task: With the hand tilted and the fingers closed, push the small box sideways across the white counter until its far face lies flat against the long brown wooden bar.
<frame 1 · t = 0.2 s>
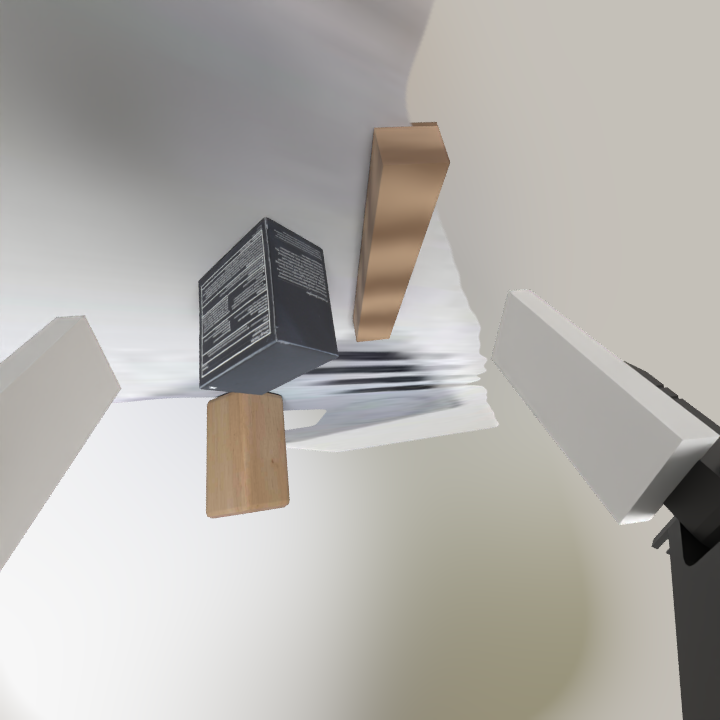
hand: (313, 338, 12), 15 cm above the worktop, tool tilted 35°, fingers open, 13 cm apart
long brown wooden bar: (380, 251, 33), on the worktop
small box: (260, 264, 32), on the worktop
wooden block: (245, 396, 66), on the worktop
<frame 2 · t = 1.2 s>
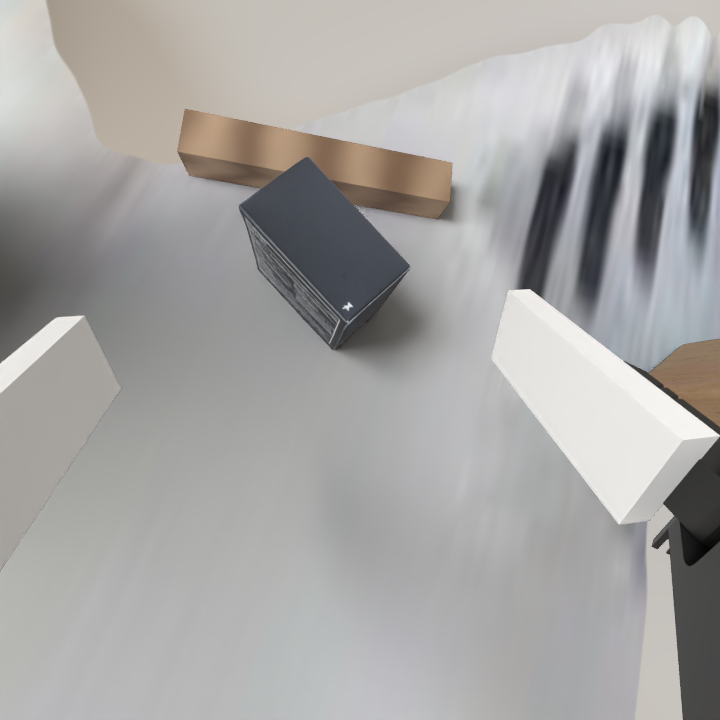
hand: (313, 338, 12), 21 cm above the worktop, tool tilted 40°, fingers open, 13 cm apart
long brown wooden bar: (321, 181, 35), on the worktop
small box: (320, 289, 33), on the worktop
wooden block: (674, 404, 38), on the worktop
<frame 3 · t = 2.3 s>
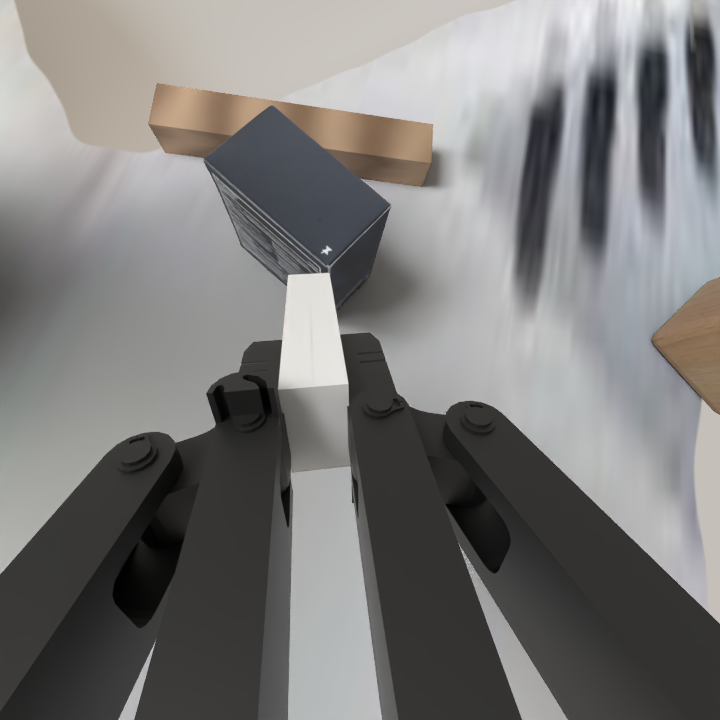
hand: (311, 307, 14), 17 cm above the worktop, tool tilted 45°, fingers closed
long brown wooden bar: (299, 154, 34), on the worktop
small box: (307, 260, 32), on the worktop
wooden block: (707, 348, 35), on the worktop
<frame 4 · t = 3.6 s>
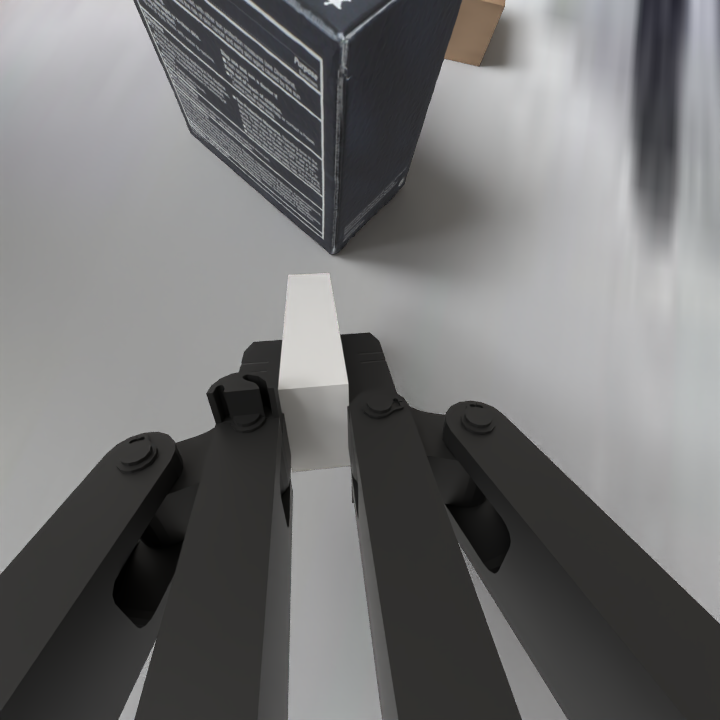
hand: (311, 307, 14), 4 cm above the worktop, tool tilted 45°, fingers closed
long brown wooden bar: (289, 2, 21), on the worktop
small box: (301, 160, 19), on the worktop
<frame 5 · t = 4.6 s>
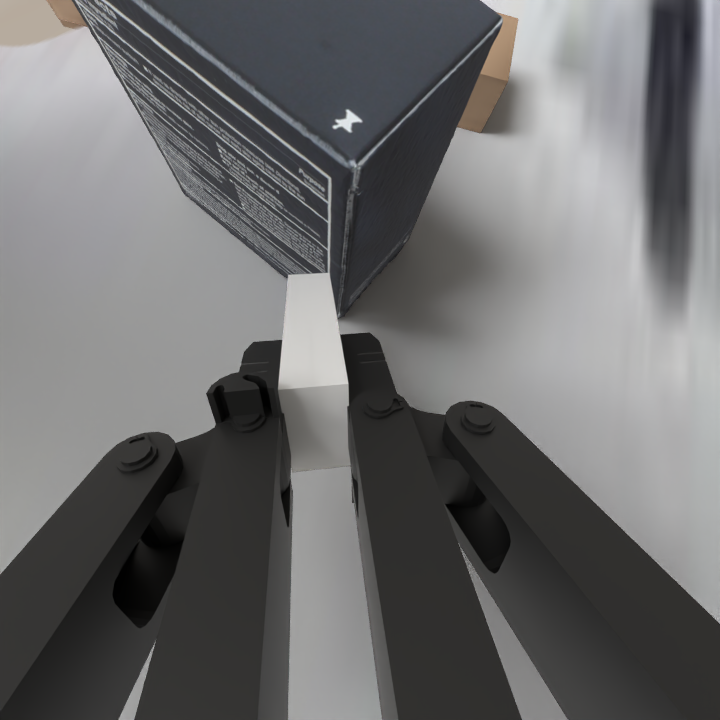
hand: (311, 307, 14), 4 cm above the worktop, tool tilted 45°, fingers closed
long brown wooden bar: (286, 56, 21), on the worktop
small box: (300, 217, 19), on the worktop, touching gripper
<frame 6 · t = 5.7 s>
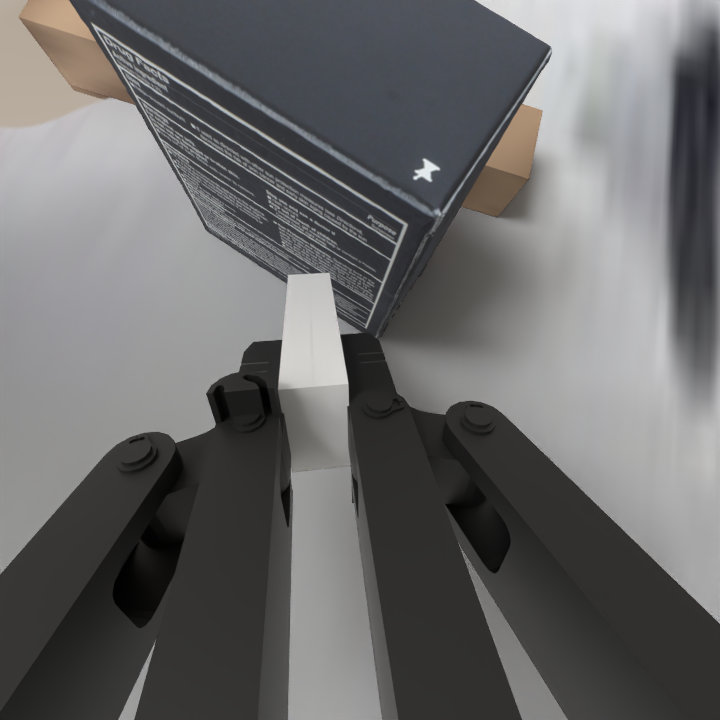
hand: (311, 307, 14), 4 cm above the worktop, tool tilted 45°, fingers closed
long brown wooden bar: (299, 128, 20), on the worktop
small box: (324, 240, 19), on the worktop
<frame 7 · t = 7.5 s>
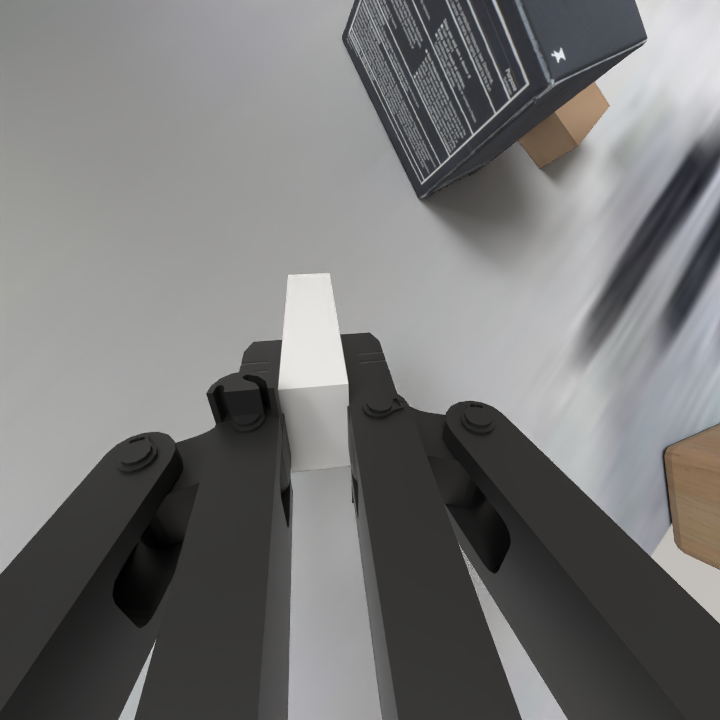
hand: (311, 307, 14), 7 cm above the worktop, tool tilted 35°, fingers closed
long brown wooden bar: (444, 8, 23), on the worktop
small box: (419, 107, 23), on the worktop
wooden block: (697, 479, 33), on the worktop
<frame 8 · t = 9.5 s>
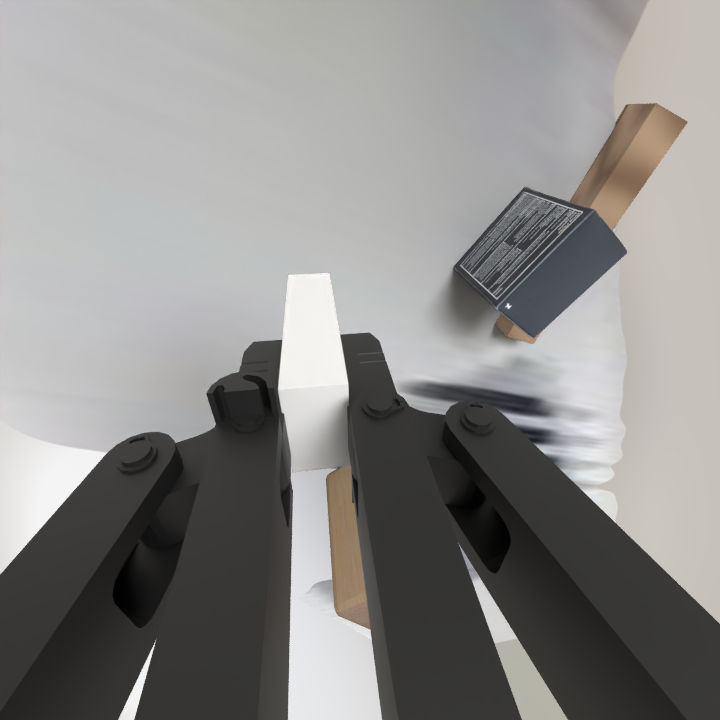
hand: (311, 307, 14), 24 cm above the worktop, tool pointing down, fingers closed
long brown wooden bar: (563, 235, 40), on the worktop
small box: (503, 245, 39), on the worktop
wooden block: (365, 473, 59), on the worktop
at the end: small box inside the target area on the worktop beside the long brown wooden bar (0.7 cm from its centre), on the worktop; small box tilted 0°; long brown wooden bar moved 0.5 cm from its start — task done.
